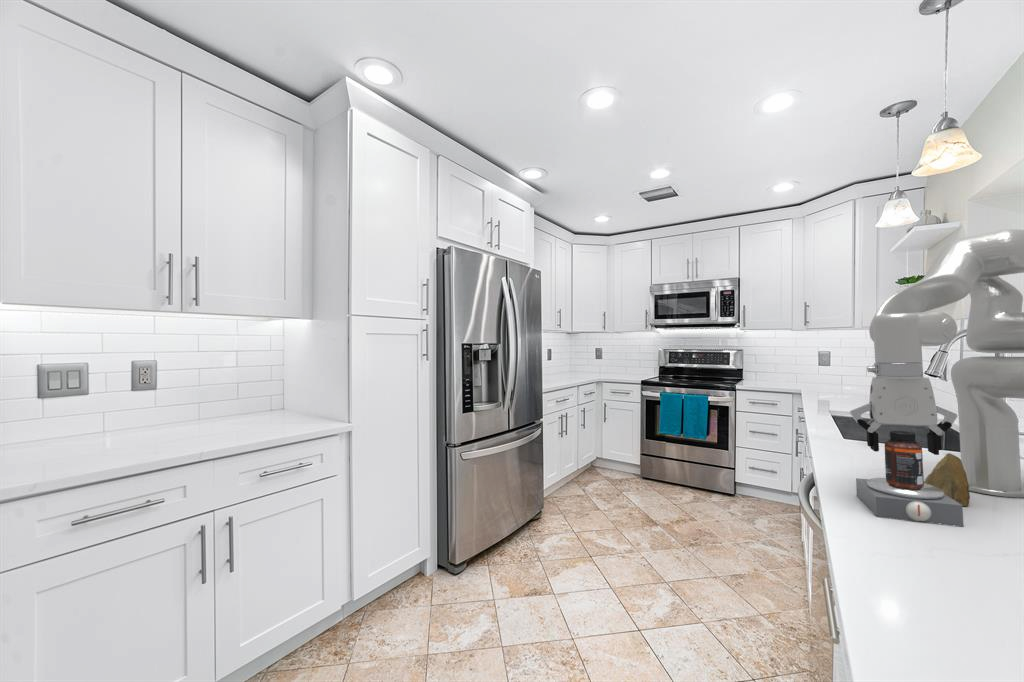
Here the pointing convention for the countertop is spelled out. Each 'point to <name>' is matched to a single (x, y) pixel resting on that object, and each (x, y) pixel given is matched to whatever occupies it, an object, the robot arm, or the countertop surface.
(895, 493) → the scale pan
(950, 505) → the scale base
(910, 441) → the supplement bottle
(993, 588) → the countertop surface
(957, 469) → the rock
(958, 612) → the countertop surface
